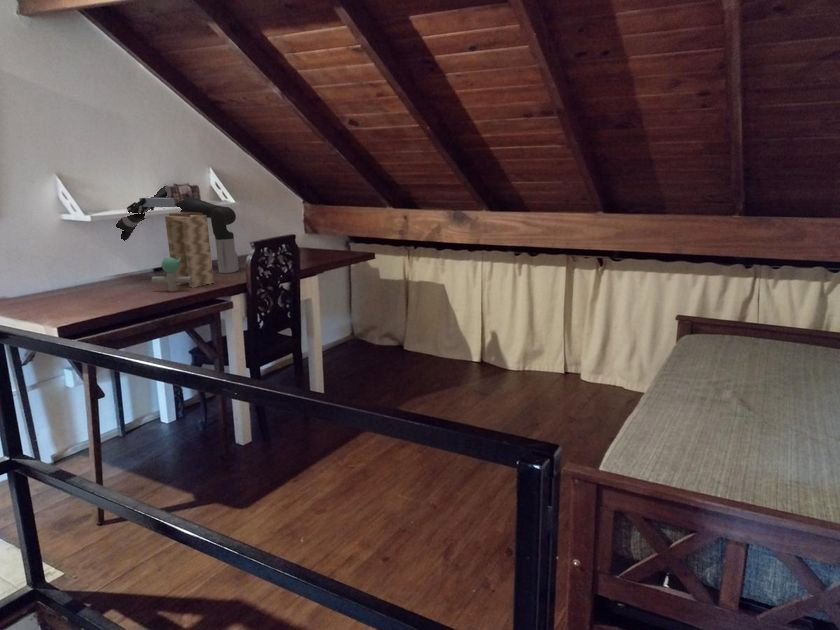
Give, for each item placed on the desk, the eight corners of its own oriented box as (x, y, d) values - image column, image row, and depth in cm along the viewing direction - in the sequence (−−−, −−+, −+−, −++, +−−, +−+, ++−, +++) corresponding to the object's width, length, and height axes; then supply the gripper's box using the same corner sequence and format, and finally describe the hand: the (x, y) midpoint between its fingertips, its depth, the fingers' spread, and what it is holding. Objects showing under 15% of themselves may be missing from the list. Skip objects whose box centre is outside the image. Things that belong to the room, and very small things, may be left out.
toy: (196, 289, 282) (192, 256, 278) (189, 292, 275) (185, 258, 272) (157, 289, 284) (153, 256, 280) (149, 292, 277) (145, 258, 274)
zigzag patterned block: (195, 281, 302) (187, 211, 294) (214, 283, 294) (206, 212, 286) (173, 285, 292) (164, 213, 284) (192, 288, 284) (183, 214, 276)
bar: (147, 205, 303) (146, 197, 302) (175, 206, 291) (174, 198, 290) (140, 206, 300) (139, 198, 299) (167, 207, 288) (166, 198, 287)
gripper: (149, 221, 313) (165, 204, 303) (123, 224, 302) (138, 207, 292) (143, 208, 314) (159, 191, 304) (116, 210, 302) (132, 193, 292)
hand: (149, 199), depth 298 cm, fingers closed on bar, 4 cm apart
